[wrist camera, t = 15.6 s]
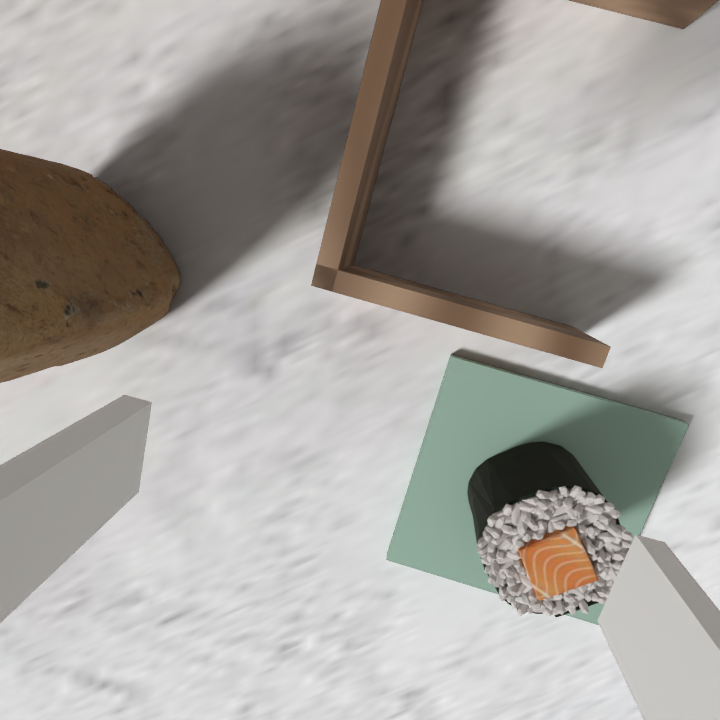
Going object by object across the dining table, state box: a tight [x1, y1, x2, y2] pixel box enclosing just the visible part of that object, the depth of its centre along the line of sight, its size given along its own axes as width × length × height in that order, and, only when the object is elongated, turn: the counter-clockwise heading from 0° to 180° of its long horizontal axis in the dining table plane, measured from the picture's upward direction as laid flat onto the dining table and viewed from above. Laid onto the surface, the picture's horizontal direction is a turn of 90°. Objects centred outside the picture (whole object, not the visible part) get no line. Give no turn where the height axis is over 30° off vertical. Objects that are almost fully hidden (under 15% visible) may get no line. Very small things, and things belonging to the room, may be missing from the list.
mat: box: [386, 355, 689, 625], centre depth 36 cm, size 16×16×1 cm
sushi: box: [467, 442, 633, 617], centre depth 32 cm, size 8×8×8 cm
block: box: [0, 149, 180, 383], centre depth 27 cm, size 11×8×20 cm
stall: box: [311, 0, 719, 368], centre depth 29 cm, size 16×20×7 cm
